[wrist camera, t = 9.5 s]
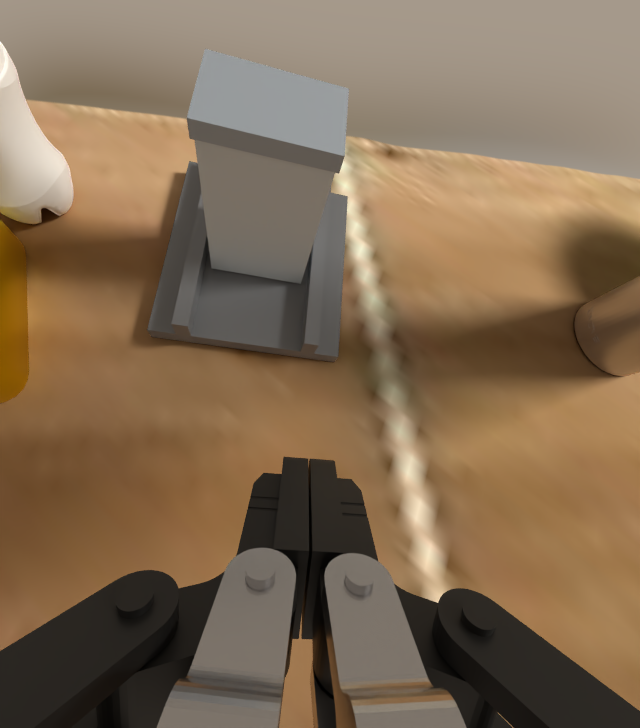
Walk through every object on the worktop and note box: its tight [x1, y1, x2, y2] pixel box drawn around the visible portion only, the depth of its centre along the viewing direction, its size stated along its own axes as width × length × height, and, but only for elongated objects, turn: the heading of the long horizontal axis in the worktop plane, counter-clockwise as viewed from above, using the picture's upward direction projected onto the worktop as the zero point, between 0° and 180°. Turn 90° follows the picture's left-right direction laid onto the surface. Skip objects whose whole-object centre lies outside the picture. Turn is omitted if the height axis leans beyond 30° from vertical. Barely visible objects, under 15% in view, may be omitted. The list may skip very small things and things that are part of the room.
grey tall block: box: [187, 49, 349, 284], centre depth 27 cm, size 8×5×14 cm, turn 86°
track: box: [147, 161, 348, 362], centre depth 33 cm, size 16×18×4 cm
